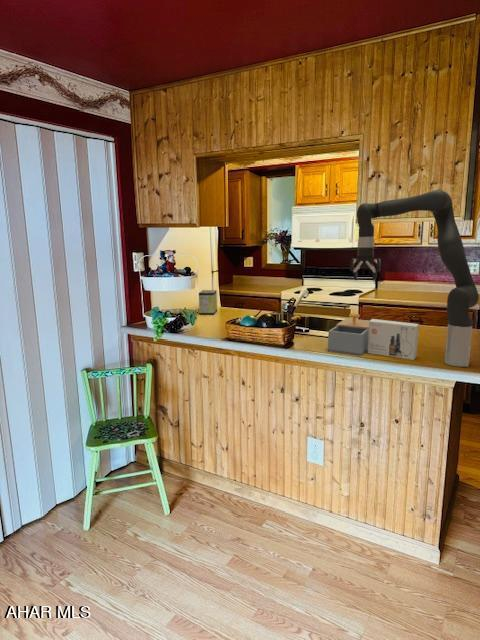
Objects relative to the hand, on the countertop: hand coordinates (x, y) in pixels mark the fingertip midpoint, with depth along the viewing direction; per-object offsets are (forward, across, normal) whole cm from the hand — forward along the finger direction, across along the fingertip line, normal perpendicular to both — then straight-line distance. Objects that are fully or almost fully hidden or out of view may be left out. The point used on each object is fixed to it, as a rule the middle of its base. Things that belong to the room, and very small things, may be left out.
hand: (364, 280), depth 208 cm
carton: (+33, +4, +10) cm, 34 cm away
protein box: (+31, +118, -38) cm, 128 cm away
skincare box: (+33, -16, +11) cm, 39 cm away
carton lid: (+23, +4, -2) cm, 23 cm away
